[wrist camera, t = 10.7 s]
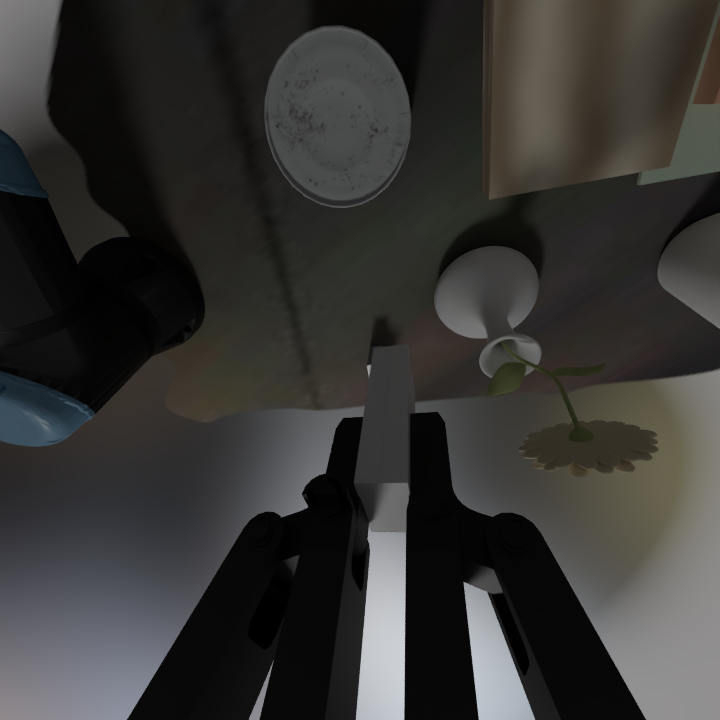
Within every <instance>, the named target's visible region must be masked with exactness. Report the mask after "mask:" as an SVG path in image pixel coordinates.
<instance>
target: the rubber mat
mask: <svg viewBox="0 0 720 720" xmlns="http://www.w3.org/2000/svg"><path fill="white" fill-rule="evenodd" d="M719 15H720V0H719V3H718V6H717V10H716V13H715V16H714V20H713V23H712V27H711V30H710V33H709V37H708V40H707V43H706V47H705V50H704V53H703V57H702V60H701V63H700V67H699V70H698V73H697V77H696V80H695V83H694V87H693V90H692V93H691V97H690V100H689V103H688V107H687V110H686V113H685V117H684V120H683V123H682V127H681V130H680V133H679V137H678V140H677V143H676V147H675V150H674V153H673V157H672V160H671V163H670V167H665V168H660V169H654V170H649V171H643V172H639V176H638V180H637V185H644V184H649V183H655V182H661V181H666V180H672V179H678V178H684V177H689V176H695V175H701V174H706V173H712V172H718V171H720V103H718V104H693V100H694V97H695V94H696V90H697V87H698V84H699V81H700V77H701V74H702V71H703V68H704V64H705V61H706V58H707V54H708V51H709V48H710V45H711V41H712V38H713V35H714V32H715V28H716V25H717V22H718V19H719Z"/></svg>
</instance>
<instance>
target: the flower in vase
mask: <svg viewBox="0 0 720 720" xmlns="http://www.w3.org/2000/svg"><path fill="white" fill-rule="evenodd" d="M538 288H539V280H538V275H537V271H536V269H535V267H534V265H533V264H532V262H531V261H530V260H529V259H528V258H527V257H526V256H525V255H523V254H522V253H520V252H518V251H517V250H514V249H511V248H508V247H503V246H487V247H481V248H478V249H474V250H472V251H469V252H467V253H465V254H463V255H462V256H460V257H459V258H457V259H456V260H454V261H453V262H452V263H451V264H450V265H449V266H448V267H447V268H446V269H445V271H444V272H443V273H442V275H441V276H440V278H439V281H438V283H437V286H436V289H435V294H434V303H435V308H436V312H437V314H438V316H439V318H440V319H441V321H442V322H443V323H444V324H445V325H446V326H447V327H448V328H450V329H451V330H452V331H454V332H455V333H458V334H460V335H462V336H465V337H470V338H488V344H487V345H486V346H485V348H484V349H483V351H482V353H481V355H480V359H479V363H480V367H481V369H482V371H483V372H484V373H485V374H486V375H487V376H489V377H491V378H492V379H491V381H490V384H489V387H488V394H487V395H488V396H490V395H498V394H504V393H509V392H512V391H514V390H516V389H518V388H519V386H520V385H521V383H522V381H523V378H524V376H525V375H527V374H528V373H530V372H531V371H532V370H534V369H536V370H538V371H540V372H542V373H544V374H546V375H547V376H549V377H550V378H551V379H552V380H554V382H555V383H556V384H557V386H558V388H559V390H560V392H561V394H562V396H563V399H564V401H565V404H566V406H567V409H568V411H569V413H570V416H571V418H572V421H573V422H572V423H570V424H566V423H563V424H558V425H555V426H554V427H548V428H545V429H542V430H541V432H535V433H532V434H529V435H528V436H526V438H527V440H525V441H523V443H522V444H523V445H522V446H521V447H520V448H519V450H520V451H523V452H525V451H526V452H525V453H524V454H523V457H524V458H530V459H535V458H538V460H536V461H535V462H534V463H533V467H534V468H536V469H543V468H544V470H546V471H555V470H558V469H559V468H566V467H568V471H569V473H570V475H571V476H573V477H575V478H583V477H586V476H587V475H588V474H589V472H590V470H591V469H593V470H594V471H596V472H598V473H601V474H610V473H612V472H613V470H617V471H619V472H624V473H629V472H633V471H634V470H635V466H634V465H633V464H632V463H631V462H630V461H637V460H639V461H649V460H651V459H652V456H651V455H650V454H649V453H654V452H657V451H658V448H657V447H656V446H654V444H657V443H658V442H657V440H655V439H653V437H656V436H657V434H656V433H655V432H653V431H649V430H640V427H638V426H635V425H625V423H622V422H616V421H614V422H605V421H598V420H596V421H591V422H588V423H586V422H584V421H578V420H577V418H576V415H575V413H574V410H573V408H572V406H571V403H570V401H569V399H568V396H567V394H566V392H565V389H564V387H563V385H562V384H561V382H560V381H559V379H558V378H557V377H556V376H555V375H572V376H586V375H593V374H596V373H598V372H600V371H601V370H602V369H603V368H604V366H605V364H602V365H598V366H593V367H586V368H574V367H562V368H558V369H555V370H554V371H552V372H549V371H547V370H545V369H544V368H542V367H540V366H537V365H538V363H539V361H540V359H541V348H540V346H539V344H538V343H537V342H536V341H535V340H534V339H533V338H531V337H529V336H526V335H523V334H516V333H515V332H514V330H513V328H514V327H516V326H517V325H518V324H520V323H521V322H522V321H523V320H524V319H525V318H526V317H527V315H528V314H529V313H530V311H531V310H532V308H533V306H534V304H535V301H536V298H537V294H538Z"/></svg>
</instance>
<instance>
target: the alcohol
mask: <svg viewBox="0 0 720 720" xmlns="http://www.w3.org/2000/svg"><path fill="white" fill-rule="evenodd" d="M658 280H659V283H660V284H661V286H662V287H663V288H664V289H665V290H667V291H668V292H669V293H671V294H672V295H674V296H675V297H676V298H678V299H679V300H680V301H682V302H683V303H685V304H686V305H687V306H689V307H690V308H692V309H693V310H694V311H696V312H697V313H698V314H700V315H701V316H703V317H704V318H705V319H707V320H708V321H709V322H711V323H712V324H714V325H715V326H716V327H718V328H719V329H720V213H717V214H715V215H712V216H709V217H706V218H704V219H701V220H699V221H697V222H695V223H693V224H691V225H690V226H688V227H687V228H685V229H684V230H682V231H681V232H680V233H679V234H678V235H676V236H675V237H674V238H673V239H672V240H671V242H670V243H669V244H668V245H667V247H666V248H665V250H664V251H663V253H662V255H661V257H660V261H659V265H658Z"/></svg>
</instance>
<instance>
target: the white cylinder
mask: <svg viewBox="0 0 720 720" xmlns="http://www.w3.org/2000/svg"><path fill="white" fill-rule="evenodd" d="M264 120H265V127H266V133H267V140H268V143H269V145H270V148H271V151H272V154H273V157H274V159H275V161H276V163H277V165H278V166H279V168H280V170H281V172H282V174H283V175H284V176H285V177H286V178H287V180H288V181H289V182H290V183H291V185H292V186H293V187H294V188H296V189H297V190H298V191H299V192H300V193H302V194H303V195H304V196H305V197H307V198H309V199H311V200H313V201H315V202H317V203H319V204H322V205H326V206H330V207H341V208H348V207H352V206H356V205H361V204H363V203H365V202H367V201H369V200H371V199H373V198H375V197H376V196H377V195H378V194H380V193H381V192H382V191H383V190H384V189H386V188H387V187H388V185H389V184H390V183H391V181H392V180H393V179H394V177H395V176H396V175H397V173H398V171H399V169H400V167H401V165H402V163H403V161H404V159H405V156H406V152H407V148H408V144H409V140H410V131H411V110H410V102H409V95H408V92H407V89H406V86H405V83H404V80H403V77H402V75H401V73H400V71H399V69H398V68H397V66H396V64H395V62H394V61H393V59H392V57H391V56H390V55H389V54H388V53H387V52H386V50H385V49H384V48H383V47H382V46H381V45H380V44H379V43H378V42H377V41H376V40H374V39H373V38H371V37H369V36H368V35H366V34H365V33H363V32H362V31H360V30H356V29H353V28H349V27H346V26H342V25H337V26H321V27H319V28H316V29H313V30H311V31H308V32H305V33H304V34H303V35H301V36H300V37H299V38H297V39H296V40H295V41H293V42H292V43H291V44H290V45H289V46H288V47H287V49H286V50H285V51H284V53H283V54H282V55H281V56H280V58H279V59H278V60H277V63H276V65H275V67H274V69H273V72H272V74H271V76H270V78H269V82H268V87H267V92H266V96H265V115H264Z"/></svg>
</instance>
